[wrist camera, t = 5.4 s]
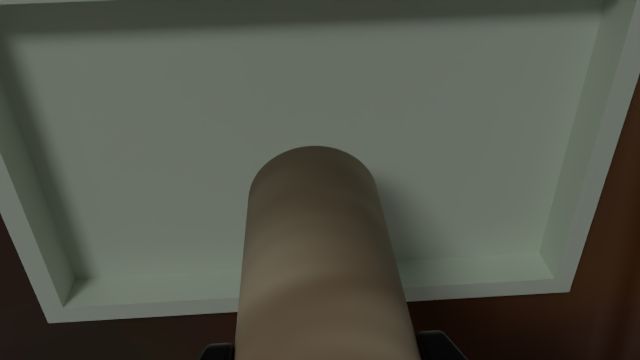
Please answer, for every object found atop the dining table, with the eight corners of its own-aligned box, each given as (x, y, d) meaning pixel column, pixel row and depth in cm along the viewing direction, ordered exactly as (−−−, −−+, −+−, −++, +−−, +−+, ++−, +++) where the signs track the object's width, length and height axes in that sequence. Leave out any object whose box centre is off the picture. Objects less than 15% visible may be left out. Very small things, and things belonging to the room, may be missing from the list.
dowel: (380, 142, 12) (508, 561, 5) (375, 247, 13) (467, 667, 7) (242, 148, 12) (187, 585, 5) (254, 254, 13) (225, 687, 7)
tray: (632, -66, 13) (679, -51, 11) (545, 253, 18) (569, 292, 17) (-55, -41, 12) (-103, -23, 11) (67, 280, 18) (48, 323, 16)
